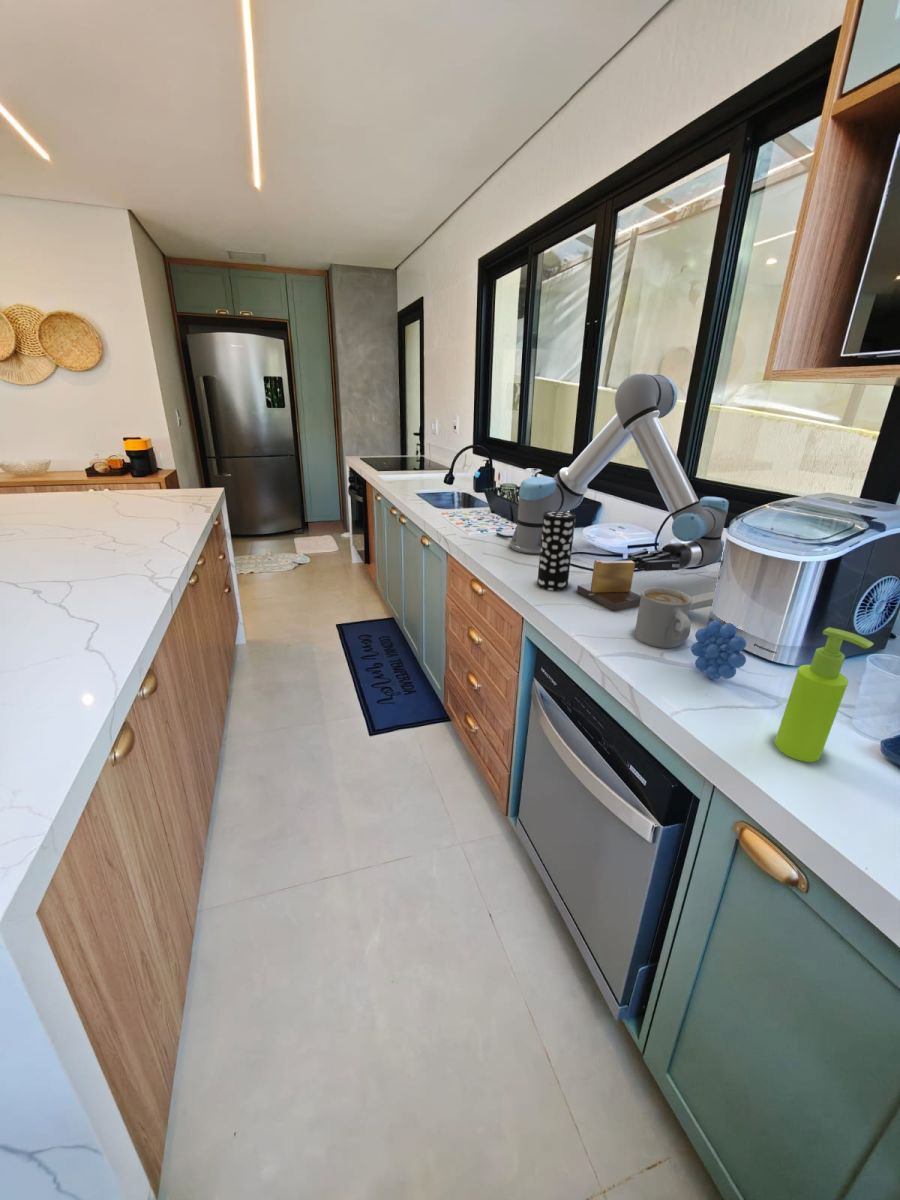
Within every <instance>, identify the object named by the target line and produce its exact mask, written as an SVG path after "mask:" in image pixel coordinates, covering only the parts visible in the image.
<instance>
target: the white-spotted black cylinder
mask: <svg viewBox="0 0 900 1200" xmlns="http://www.w3.org/2000/svg"><path fill="white" fill-rule="evenodd" d="M576 516H577V515H576V514H575V513H573V512H570V511H567V512H565V511H547V512H544V514H543V526H542V537H541V548H540V554H539V560H538V562H539V563H538V572H537V583H536V584H537V587H539V588H540V589H543V590H546V591H555V592H559V591H563V590H566V589H568V586H569V577H570V569H571V560H572V551H573V542H574V534H575V525H576Z"/></svg>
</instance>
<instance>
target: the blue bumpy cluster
mask: <svg viewBox="0 0 900 1200" xmlns="http://www.w3.org/2000/svg"><path fill="white" fill-rule="evenodd" d="M737 632H738V627H737V626H734V625H733V624H731V623H726V624H725V623H724V624H722V622H721V621H719V620H718V619H717V620H716V619H715V620H711V621H709V622H708V623H707V625H706V627H701V628H699V629H697V631H696V632H695V634H694V637H695V640H696V641H695V642H694V643H693V644H692V646H691V647H690V652H691V653H692V655H693V656H695V657H697V658H696V659H695V661H694V666H695V668H696V669H697V670H699V671H702V672H703V671H705V675H706V677H707V678H708V679H710V680H719V679H720V678H723V679H725V680H730V679H733V678H734V677H735V676H736V675H737V669H740V668H741V667H744V665H745V664H746V662H747V658H746V655H744V653H742V651H744V650H745V648H746V647H747V640H746V639H745V637H743V636H741V635H737Z"/></svg>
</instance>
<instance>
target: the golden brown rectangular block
mask: <svg viewBox="0 0 900 1200" xmlns="http://www.w3.org/2000/svg"><path fill="white" fill-rule="evenodd" d="M634 567H635V562H633V561H615V560H600V559H595V560H594V561H593V568H592V575H591V582H592V583H591V582H590V583H591V591H592V592H630V591H631V592H632V584H633V579H634V573H635V569H634Z"/></svg>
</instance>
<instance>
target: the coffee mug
mask: <svg viewBox="0 0 900 1200" xmlns="http://www.w3.org/2000/svg"><path fill="white" fill-rule="evenodd" d="M640 596H641V599H640V605H639V606H638V612H637V617H636V623H635V628H634V632H633V633H634V637H635V638H636V639H637V640H638V641H639V642H642V643H643V644H645V645H648V646H651V647H654V648H662V649H673V648H678V647H680V646H681V645H682V644H683V642H685V641H686V640H687V639H688V638H689V636H690V634H691V627H692V625H691V620H690V618H689V615H690V611H691V610H690V606H691V601H692V599H691V597H692V596H690V595H689V594H688V593H685V592H683V591H680V590H678V589H673V588H669V587H659V586H657V587H656V586H655V587H654V586H652V587H647V588H645V589H643V590H642V591H641V594H640ZM689 610H690V611H689Z"/></svg>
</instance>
